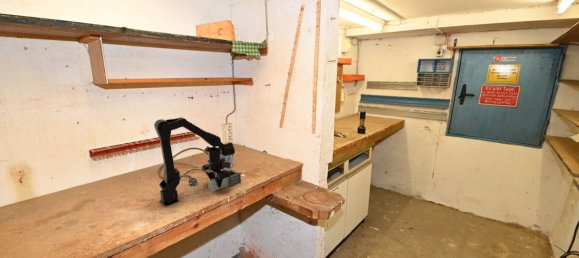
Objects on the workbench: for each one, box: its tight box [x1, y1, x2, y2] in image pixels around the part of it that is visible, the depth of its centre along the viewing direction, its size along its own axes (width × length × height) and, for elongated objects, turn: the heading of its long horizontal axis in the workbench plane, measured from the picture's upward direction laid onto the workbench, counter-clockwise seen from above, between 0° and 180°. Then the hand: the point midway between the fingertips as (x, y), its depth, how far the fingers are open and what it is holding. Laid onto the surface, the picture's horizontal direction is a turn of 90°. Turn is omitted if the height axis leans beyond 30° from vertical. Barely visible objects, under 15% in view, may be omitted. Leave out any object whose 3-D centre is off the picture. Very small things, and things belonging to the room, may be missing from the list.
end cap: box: [228, 169, 242, 187], centre depth 143 cm, size 6×8×6 cm
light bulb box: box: [220, 154, 235, 171], centre depth 165 cm, size 11×7×11 cm, turn 168°
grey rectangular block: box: [207, 177, 229, 192], centre depth 138 cm, size 12×4×5 cm, turn 137°
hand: (216, 185), depth 137 cm, fingers open, 5 cm apart
